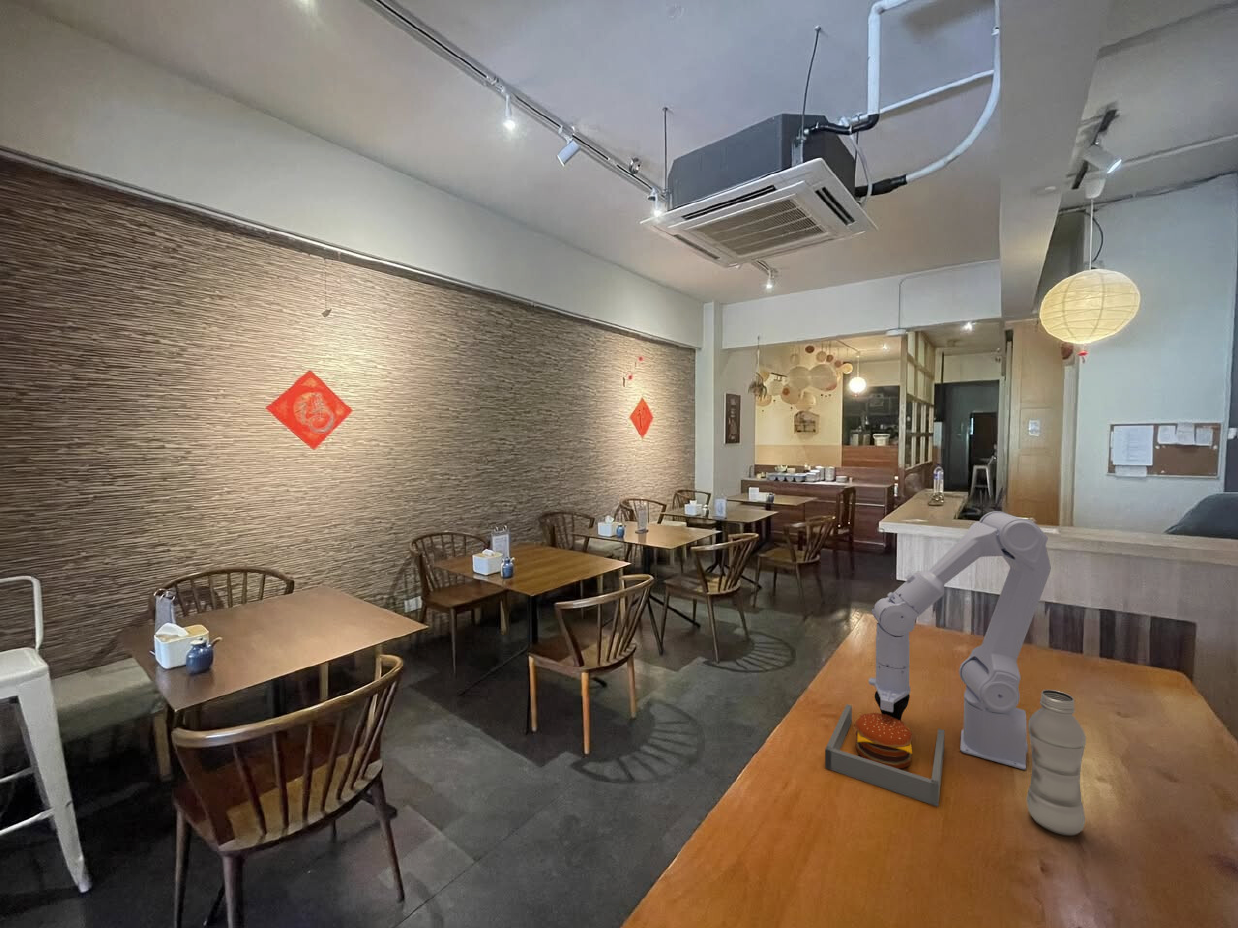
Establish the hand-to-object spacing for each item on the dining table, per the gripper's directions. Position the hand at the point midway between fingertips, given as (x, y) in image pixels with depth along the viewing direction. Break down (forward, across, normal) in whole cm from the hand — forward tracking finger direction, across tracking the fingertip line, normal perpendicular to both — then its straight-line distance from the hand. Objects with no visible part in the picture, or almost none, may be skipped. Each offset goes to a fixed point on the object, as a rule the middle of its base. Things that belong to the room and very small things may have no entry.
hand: (891, 730), depth 98 cm
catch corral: (+2, +7, 0) cm, 7 cm away
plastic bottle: (+2, +11, +23) cm, 26 cm away
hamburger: (+2, +6, -1) cm, 6 cm away
